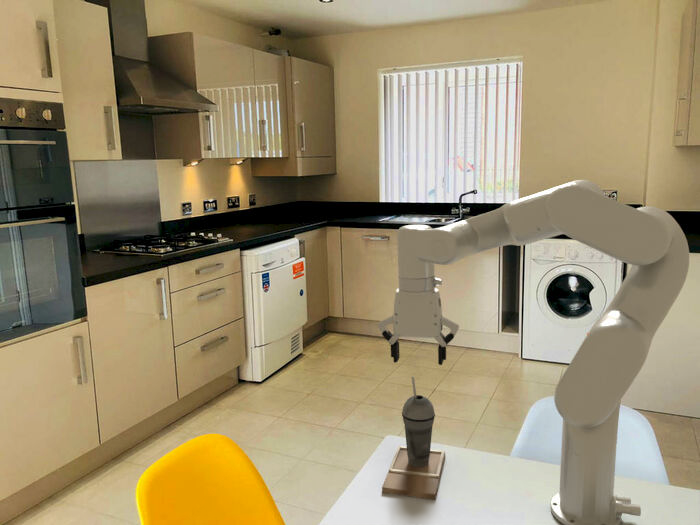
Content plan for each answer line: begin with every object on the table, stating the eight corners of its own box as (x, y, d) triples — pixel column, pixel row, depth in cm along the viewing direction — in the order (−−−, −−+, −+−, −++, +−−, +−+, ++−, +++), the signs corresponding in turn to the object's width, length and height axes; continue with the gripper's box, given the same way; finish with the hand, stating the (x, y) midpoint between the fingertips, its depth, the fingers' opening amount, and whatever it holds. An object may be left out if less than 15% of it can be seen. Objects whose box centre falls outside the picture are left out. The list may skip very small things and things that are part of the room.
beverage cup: (434, 472, 127) (434, 385, 123) (400, 469, 128) (399, 383, 124) (435, 455, 134) (436, 372, 130) (403, 452, 135) (403, 370, 131)
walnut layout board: (445, 457, 135) (445, 450, 134) (435, 499, 119) (435, 492, 118) (398, 451, 138) (398, 445, 138) (382, 492, 122) (382, 485, 121)
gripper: (460, 280, 124) (460, 357, 127) (380, 279, 129) (383, 353, 132) (456, 288, 117) (457, 370, 120) (372, 287, 122) (375, 365, 125)
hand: (418, 361), depth 126 cm, fingers open, 9 cm apart
